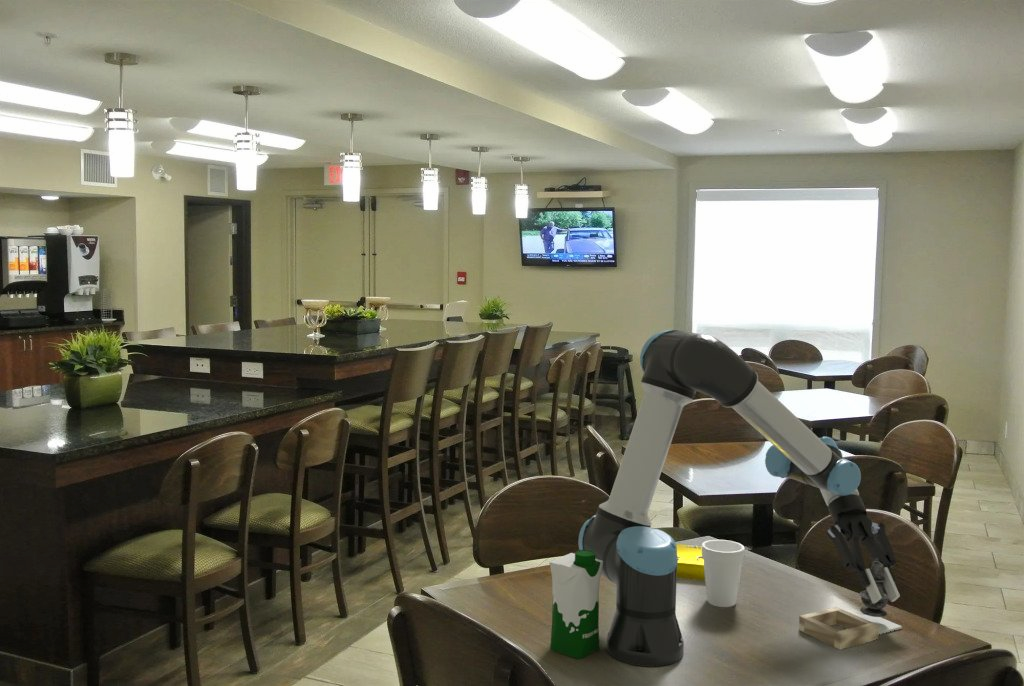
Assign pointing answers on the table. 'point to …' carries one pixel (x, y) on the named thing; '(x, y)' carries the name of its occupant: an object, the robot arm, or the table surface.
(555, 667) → the table surface
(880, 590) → the dark chess piece
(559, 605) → the milk carton
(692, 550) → the element tile
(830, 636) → the wooden square frame
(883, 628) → the white mat
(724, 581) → the foam cup
